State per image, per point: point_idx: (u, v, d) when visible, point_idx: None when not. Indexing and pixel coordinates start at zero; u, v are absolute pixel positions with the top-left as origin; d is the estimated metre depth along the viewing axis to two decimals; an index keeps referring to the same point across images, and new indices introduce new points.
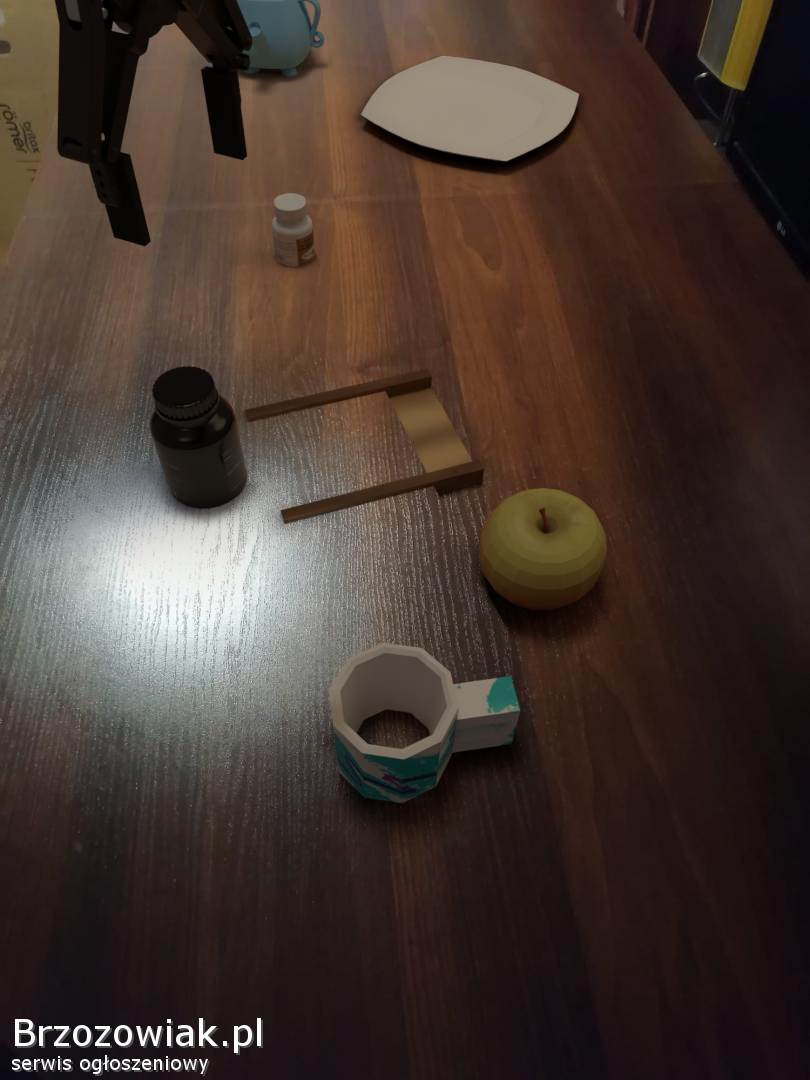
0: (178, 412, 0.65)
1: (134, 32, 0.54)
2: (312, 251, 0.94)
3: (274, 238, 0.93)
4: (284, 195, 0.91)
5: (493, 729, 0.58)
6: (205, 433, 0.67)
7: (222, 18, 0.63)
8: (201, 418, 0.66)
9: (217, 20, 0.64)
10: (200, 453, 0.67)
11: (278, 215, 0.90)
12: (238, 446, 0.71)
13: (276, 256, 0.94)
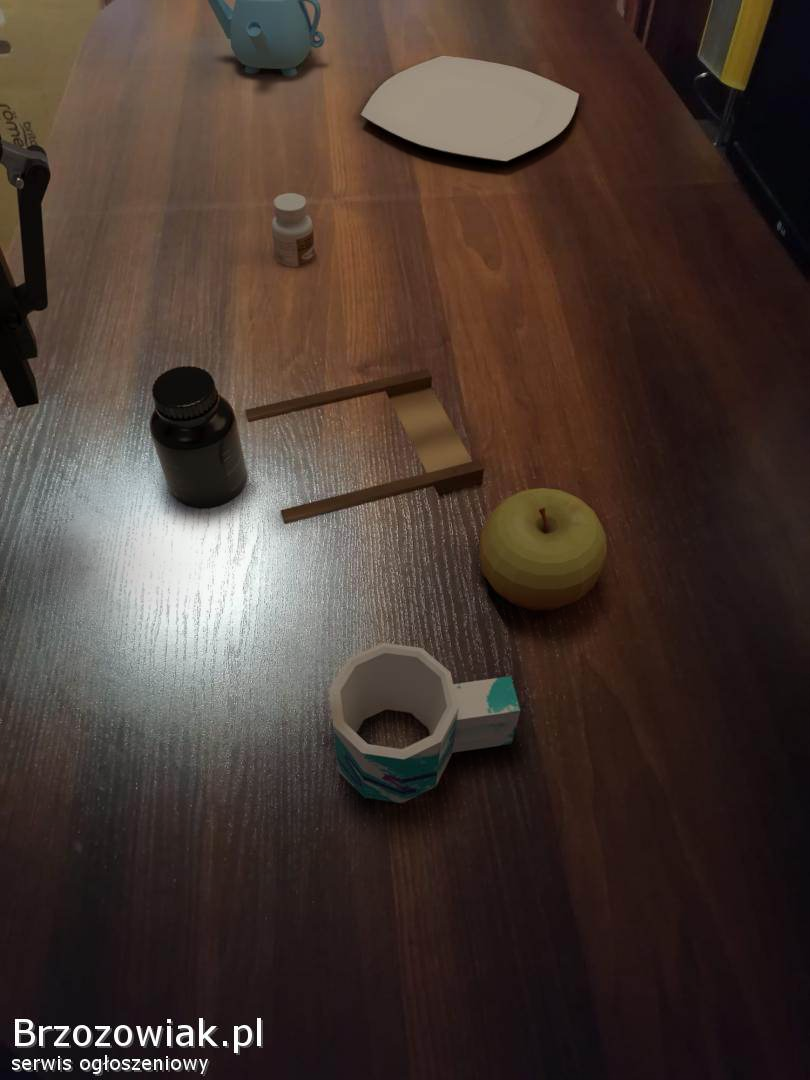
0: (178, 412, 0.65)
1: None
2: (312, 251, 0.94)
3: (274, 238, 0.93)
4: (284, 195, 0.91)
5: (493, 729, 0.58)
6: (205, 433, 0.67)
7: (23, 259, 0.54)
8: (201, 418, 0.66)
9: (23, 258, 0.55)
10: (200, 453, 0.67)
11: (278, 215, 0.90)
12: (238, 446, 0.71)
13: (276, 256, 0.94)
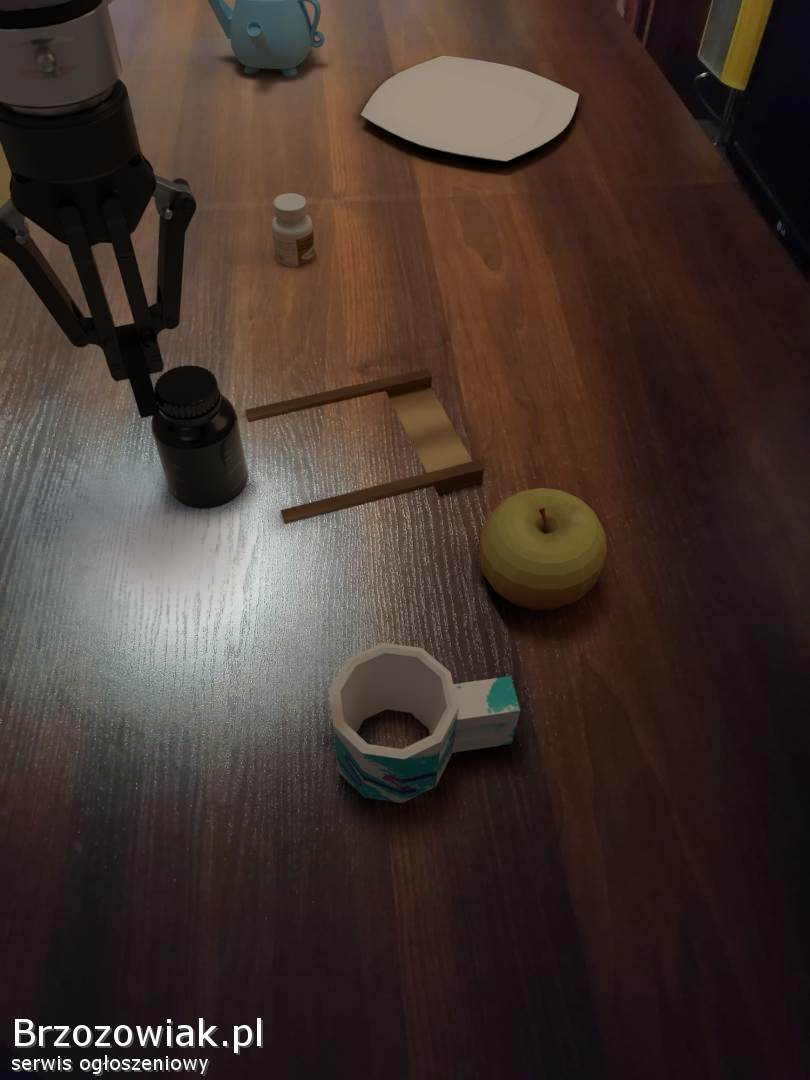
0: (180, 411, 0.65)
1: (71, 254, 0.54)
2: (312, 251, 0.94)
3: (274, 238, 0.93)
4: (284, 195, 0.91)
5: (493, 729, 0.58)
6: (207, 432, 0.67)
7: (161, 282, 0.58)
8: (203, 417, 0.66)
9: (159, 281, 0.59)
10: (201, 453, 0.67)
11: (278, 215, 0.90)
12: (239, 446, 0.71)
13: (276, 256, 0.94)
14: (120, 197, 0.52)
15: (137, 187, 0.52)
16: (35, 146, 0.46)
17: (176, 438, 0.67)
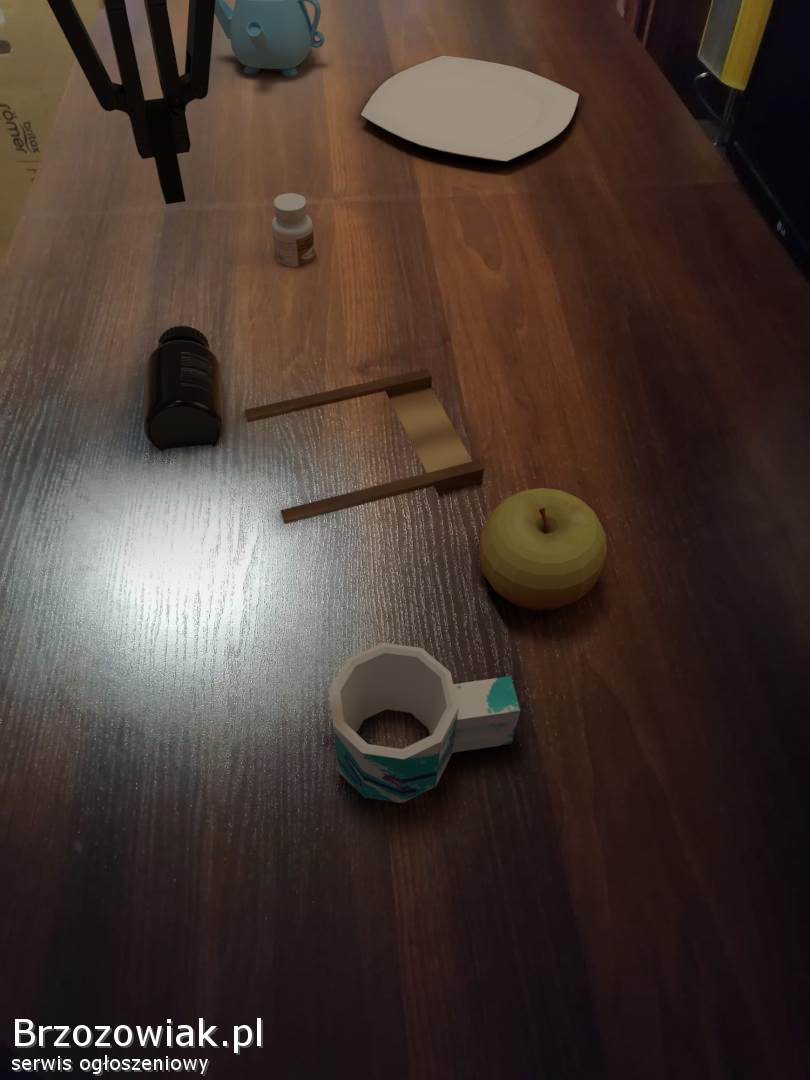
0: (163, 335, 0.80)
1: None
2: (312, 251, 0.94)
3: (274, 238, 0.93)
4: (284, 195, 0.91)
5: (493, 729, 0.58)
6: None
7: (190, 44, 0.58)
8: (176, 334, 0.79)
9: (189, 45, 0.59)
10: (162, 348, 0.77)
11: (278, 215, 0.90)
12: (205, 365, 0.77)
13: (276, 256, 0.94)
14: None
15: None
16: None
17: None
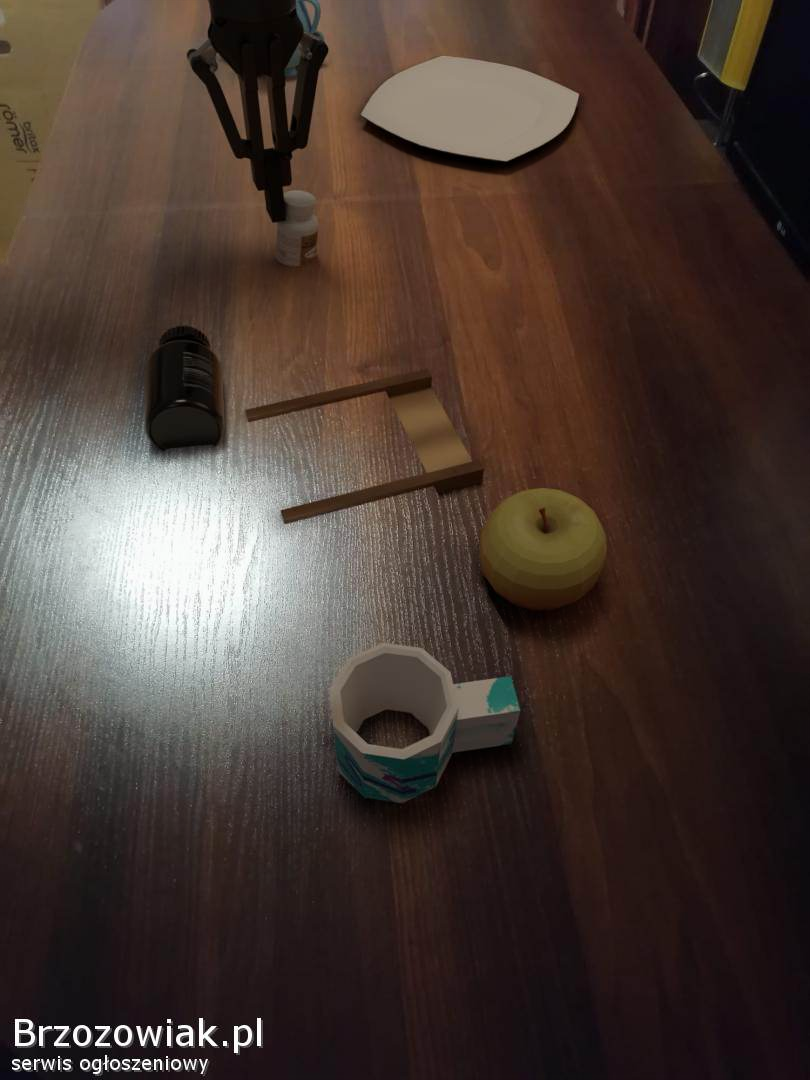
0: (164, 335, 0.80)
1: (244, 82, 0.78)
2: (315, 250, 0.94)
3: (279, 233, 0.92)
4: (293, 191, 0.91)
5: (493, 729, 0.58)
6: None
7: (297, 111, 0.83)
8: (178, 334, 0.79)
9: (295, 112, 0.84)
10: (164, 348, 0.77)
11: (286, 210, 0.90)
12: (207, 366, 0.77)
13: (278, 251, 0.94)
14: (280, 40, 0.77)
15: (292, 33, 0.77)
16: None
17: None
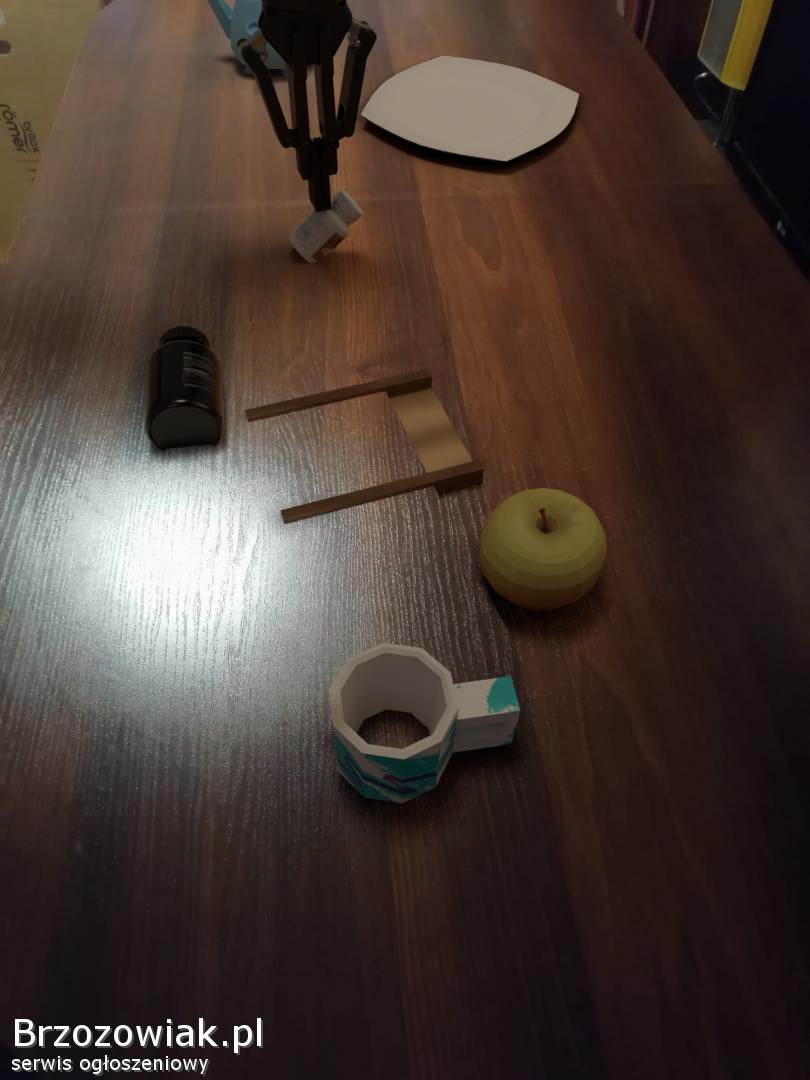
0: (164, 335, 0.80)
1: (293, 71, 0.79)
2: (329, 252, 0.95)
3: (315, 215, 0.92)
4: (347, 194, 0.93)
5: (493, 729, 0.58)
6: None
7: (344, 100, 0.84)
8: (178, 334, 0.79)
9: (342, 100, 0.84)
10: (164, 348, 0.77)
11: (339, 202, 0.91)
12: (207, 366, 0.77)
13: (301, 229, 0.93)
14: (330, 28, 0.78)
15: (341, 22, 0.78)
16: None
17: None
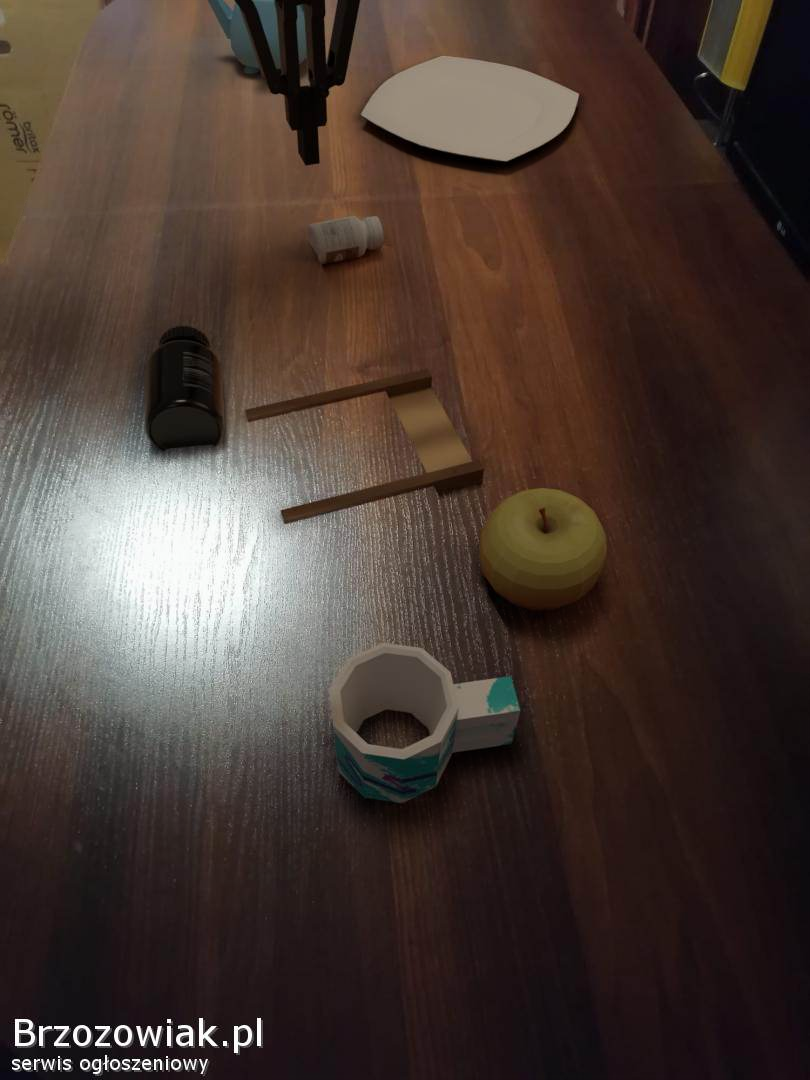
0: (164, 335, 0.80)
1: (283, 10, 0.75)
2: None
3: (347, 222, 0.94)
4: None
5: (493, 729, 0.58)
6: None
7: (335, 45, 0.80)
8: (178, 334, 0.79)
9: (333, 46, 0.80)
10: (164, 348, 0.77)
11: (373, 224, 0.95)
12: (207, 366, 0.77)
13: (328, 225, 0.94)
14: None
15: None
16: None
17: None
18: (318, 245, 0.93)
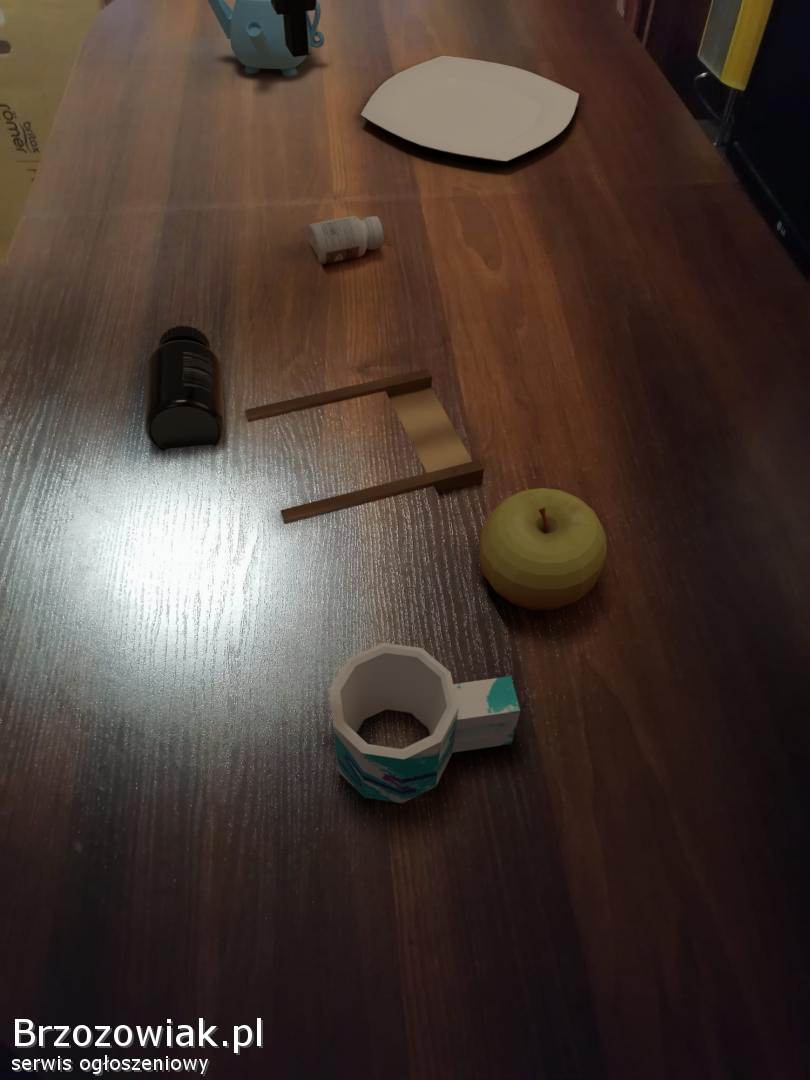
0: (164, 335, 0.80)
1: None
2: None
3: (347, 222, 0.94)
4: None
5: (493, 729, 0.58)
6: None
7: None
8: (178, 334, 0.79)
9: None
10: (164, 348, 0.77)
11: (373, 224, 0.95)
12: (207, 366, 0.77)
13: (328, 225, 0.94)
14: None
15: None
16: None
17: None
18: (318, 245, 0.93)
